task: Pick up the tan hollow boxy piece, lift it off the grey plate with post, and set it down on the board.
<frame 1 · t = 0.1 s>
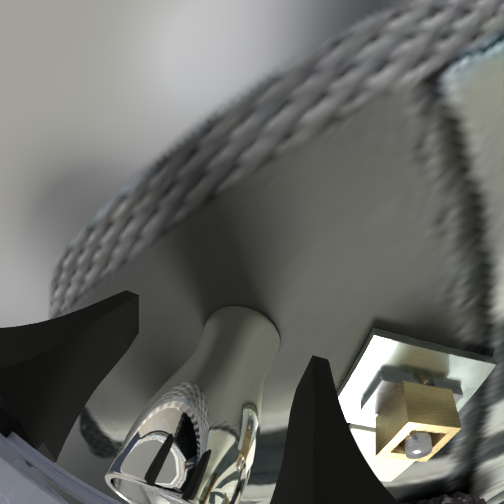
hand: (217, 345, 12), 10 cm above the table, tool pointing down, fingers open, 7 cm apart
beer glass: (242, 336, 25), on the table
grey plate with post: (410, 387, 23), on the table
tan hollow boxy piece: (413, 404, 21), point 2 cm above the table, touching grey plate with post
board: (374, 453, 28), on the table
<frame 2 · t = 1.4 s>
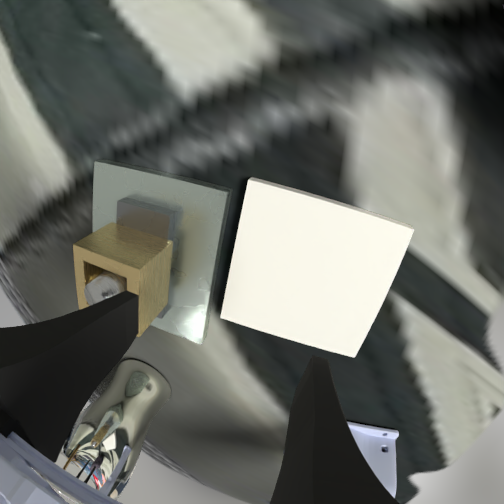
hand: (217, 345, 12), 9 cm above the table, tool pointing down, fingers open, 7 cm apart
beer glass: (145, 379, 29), on the table
grey plate with post: (153, 251, 23), on the table
tan hollow boxy piece: (139, 263, 21), point 2 cm above the table, touching grey plate with post
board: (310, 273, 20), on the table
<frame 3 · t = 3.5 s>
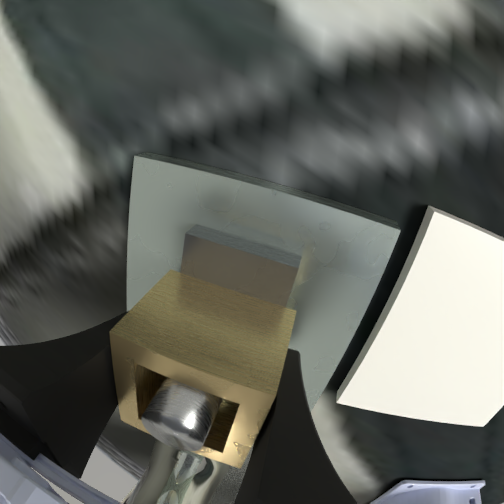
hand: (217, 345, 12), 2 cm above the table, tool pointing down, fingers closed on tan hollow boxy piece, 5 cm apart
beer glass: (194, 451, 21), on the table
grey plate with post: (235, 311, 14), on the table
tan hollow boxy piece: (220, 338, 12), point 2 cm above the table, touching gripper, grey plate with post
board: (469, 340, 12), on the table
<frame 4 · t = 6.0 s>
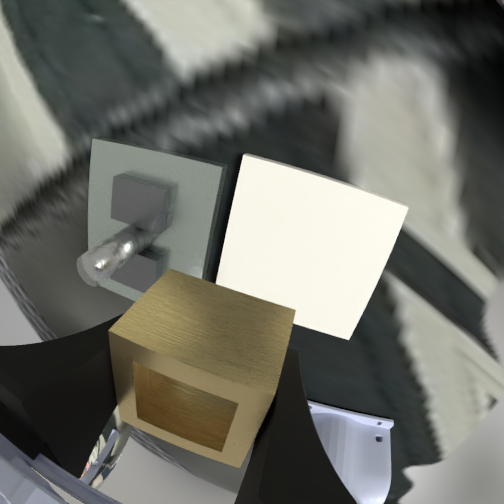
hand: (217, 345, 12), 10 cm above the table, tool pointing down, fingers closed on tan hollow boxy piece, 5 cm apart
beer glass: (137, 363, 29), on the table
grey plate with post: (147, 229, 23), on the table
tan hollow boxy piece: (220, 338, 12), point 9 cm above the table, touching gripper
board: (304, 251, 20), on the table
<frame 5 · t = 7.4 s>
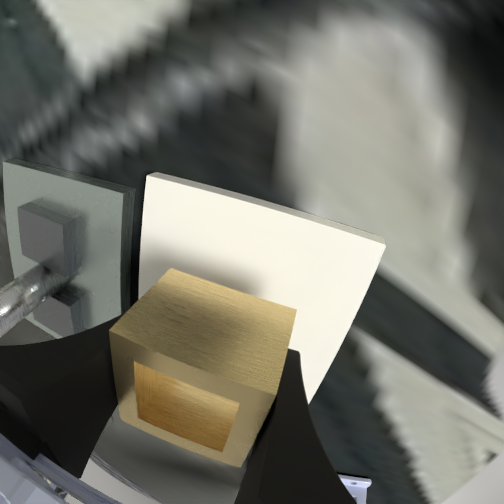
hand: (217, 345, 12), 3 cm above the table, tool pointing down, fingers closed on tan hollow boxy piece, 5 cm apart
grey plate with post: (65, 265, 17), on the table
tan hollow boxy piece: (220, 337, 12), point 3 cm above the table, touching gripper
board: (240, 301, 15), on the table
when the fingers open (3 cm above the table, at t = 8.5 s): tan hollow boxy piece drops 2 cm, resting on board.
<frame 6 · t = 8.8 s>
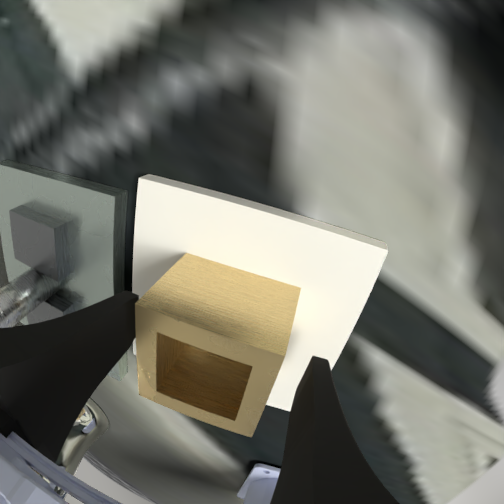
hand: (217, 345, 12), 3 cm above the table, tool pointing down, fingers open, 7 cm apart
beer glass: (83, 405, 24), on the table
grey plate with post: (59, 269, 17), on the table
tan hollow boxy piece: (231, 317, 14), point 1 cm above the table, touching board
board: (236, 307, 14), on the table
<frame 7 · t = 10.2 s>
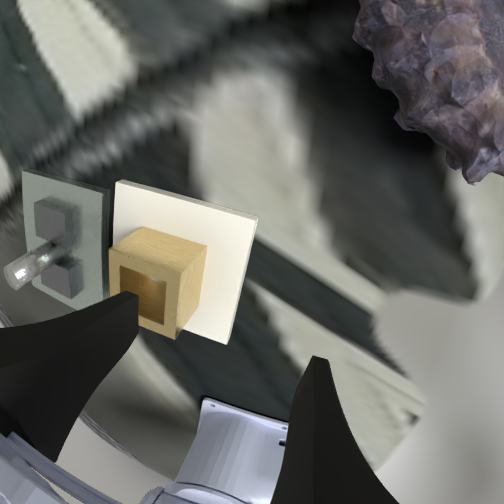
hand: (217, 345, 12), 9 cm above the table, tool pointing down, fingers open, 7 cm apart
grey plate with post: (66, 243, 25), on the table
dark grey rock: (489, 36, 12), on the table
tan hollow boxy piece: (170, 267, 22), point 1 cm above the table, touching board
board: (175, 262, 22), on the table
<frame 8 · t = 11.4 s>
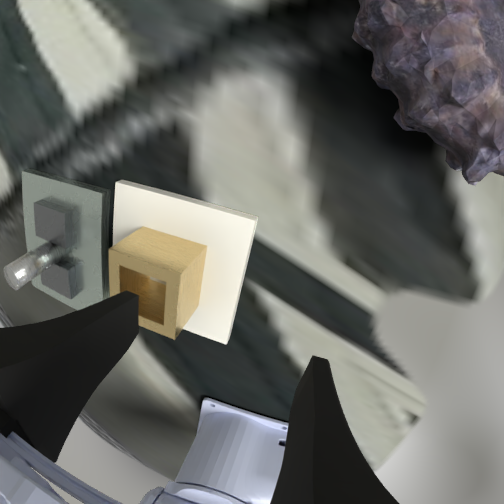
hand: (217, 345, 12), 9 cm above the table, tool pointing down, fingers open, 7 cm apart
grey plate with post: (66, 243, 25), on the table
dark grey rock: (489, 36, 12), on the table
tan hollow boxy piece: (170, 267, 22), point 1 cm above the table, touching board
board: (175, 262, 23), on the table
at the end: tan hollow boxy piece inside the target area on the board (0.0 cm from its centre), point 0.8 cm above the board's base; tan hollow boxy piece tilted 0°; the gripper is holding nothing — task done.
